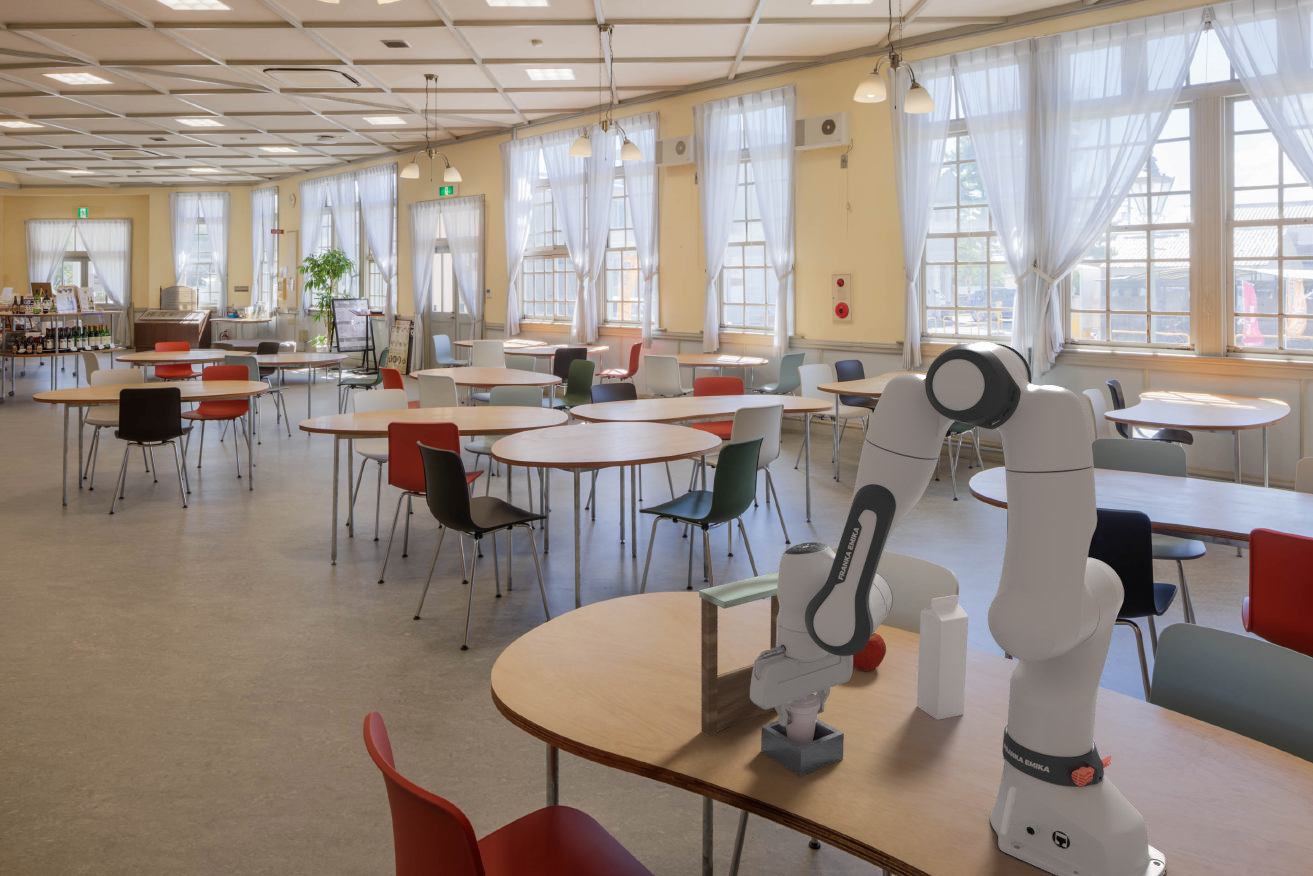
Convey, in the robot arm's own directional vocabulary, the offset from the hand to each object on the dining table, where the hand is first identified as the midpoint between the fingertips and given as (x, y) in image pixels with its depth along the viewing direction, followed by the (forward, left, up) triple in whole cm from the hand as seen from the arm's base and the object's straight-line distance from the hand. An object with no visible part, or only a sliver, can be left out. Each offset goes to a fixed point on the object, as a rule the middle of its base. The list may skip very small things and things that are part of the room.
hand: (801, 718), depth 145 cm
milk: (-3, -32, -7) cm, 33 cm away
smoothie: (0, 0, -7) cm, 7 cm away
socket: (0, 0, -7) cm, 7 cm away
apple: (+18, -35, -7) cm, 40 cm away
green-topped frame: (+12, 0, -7) cm, 13 cm away
